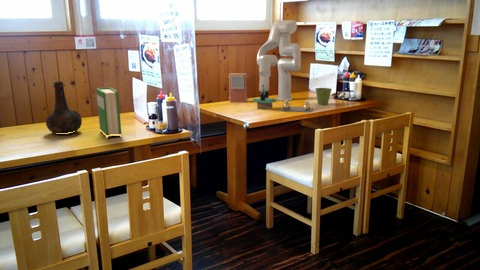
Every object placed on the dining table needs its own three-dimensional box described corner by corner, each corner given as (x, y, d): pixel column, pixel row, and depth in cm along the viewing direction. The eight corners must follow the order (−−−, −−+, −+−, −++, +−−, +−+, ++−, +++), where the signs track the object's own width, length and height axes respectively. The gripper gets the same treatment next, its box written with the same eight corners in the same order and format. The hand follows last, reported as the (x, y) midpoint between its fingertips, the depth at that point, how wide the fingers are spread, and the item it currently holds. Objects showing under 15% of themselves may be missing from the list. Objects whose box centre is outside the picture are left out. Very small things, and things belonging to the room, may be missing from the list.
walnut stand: (258, 108, 293) (258, 101, 291) (272, 108, 290) (272, 101, 289) (257, 108, 290) (257, 101, 289) (271, 109, 287) (271, 102, 286)
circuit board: (254, 100, 294) (254, 97, 294) (277, 101, 290) (277, 98, 289) (252, 102, 288) (252, 99, 287) (275, 102, 283) (275, 99, 283)
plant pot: (329, 106, 296) (330, 90, 293) (313, 105, 300) (313, 89, 298) (332, 103, 307) (333, 88, 304) (316, 102, 311) (317, 87, 308)
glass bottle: (83, 135, 223) (77, 82, 216) (46, 138, 217) (39, 84, 210) (82, 128, 239) (77, 79, 233) (48, 131, 233) (42, 80, 227)
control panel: (229, 101, 322) (248, 101, 321) (227, 102, 316) (247, 102, 314) (228, 73, 317) (248, 73, 316) (227, 74, 311) (247, 74, 309)
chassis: (283, 107, 292) (283, 97, 290) (312, 109, 286) (312, 98, 285) (280, 111, 281) (280, 100, 279) (310, 112, 275) (310, 101, 274)
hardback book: (121, 137, 218) (117, 91, 212) (107, 139, 215) (102, 92, 209) (114, 130, 233) (110, 87, 227) (100, 132, 230) (96, 88, 224)
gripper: (262, 73, 293) (262, 97, 297) (256, 75, 277) (256, 101, 281) (272, 73, 291) (272, 98, 295) (267, 75, 275) (267, 101, 279)
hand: (264, 99), depth 288 cm, fingers open, 9 cm apart
